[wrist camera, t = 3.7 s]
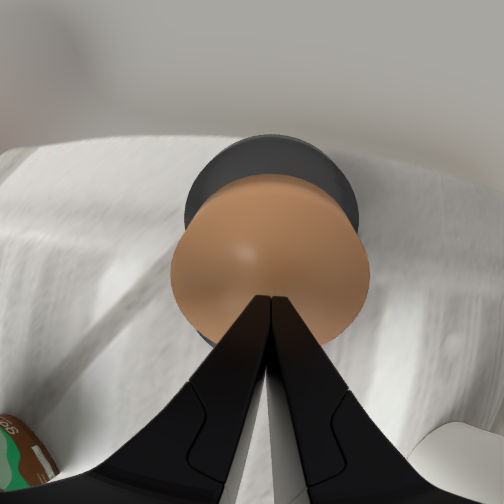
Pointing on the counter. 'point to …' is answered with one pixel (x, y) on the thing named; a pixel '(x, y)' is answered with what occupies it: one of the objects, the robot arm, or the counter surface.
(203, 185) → the button post
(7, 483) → the food container
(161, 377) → the counter surface
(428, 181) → the counter surface
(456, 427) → the cylindrical container
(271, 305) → the robot arm
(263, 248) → the button cap
